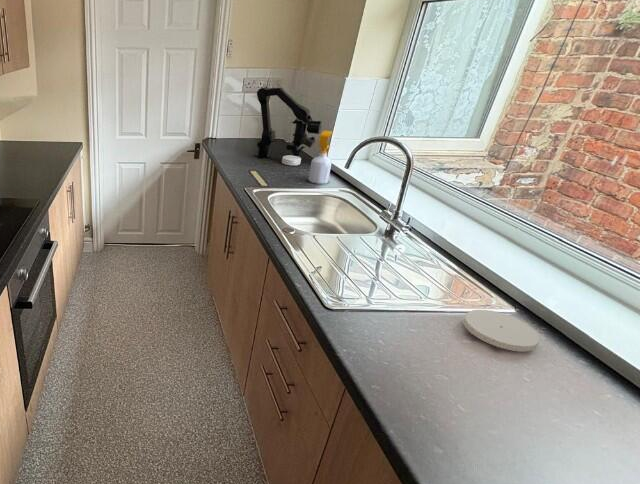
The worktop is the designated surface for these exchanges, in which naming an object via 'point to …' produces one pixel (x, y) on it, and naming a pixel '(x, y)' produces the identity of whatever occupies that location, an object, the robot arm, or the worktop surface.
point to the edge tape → (258, 178)
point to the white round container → (291, 160)
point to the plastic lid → (501, 330)
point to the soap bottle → (321, 162)
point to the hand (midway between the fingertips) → (295, 159)
